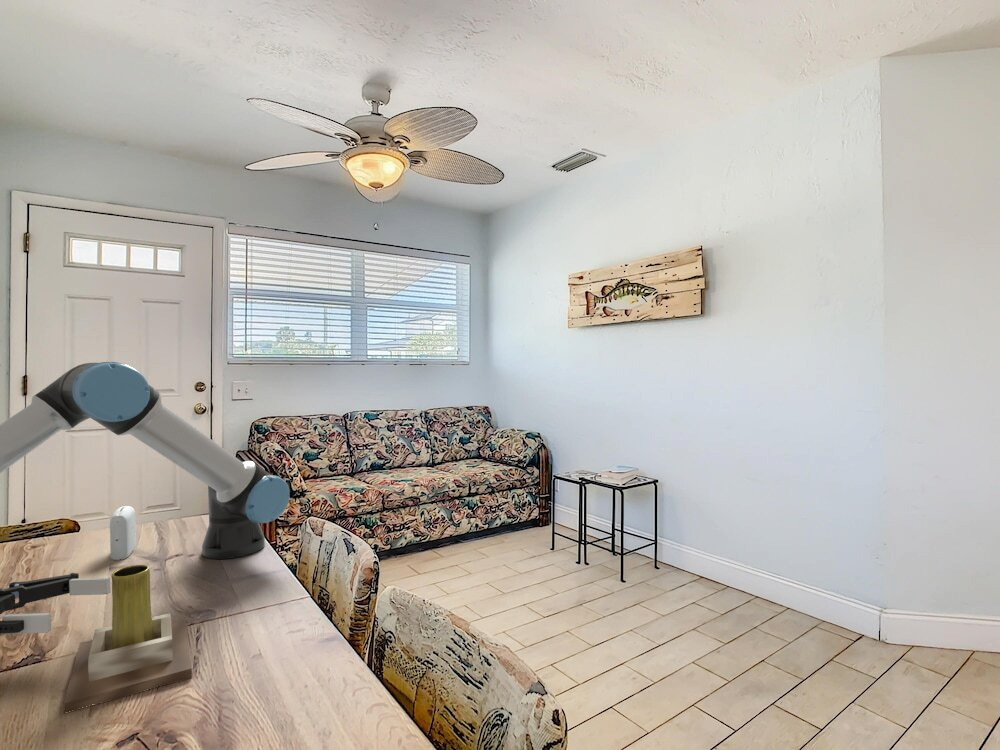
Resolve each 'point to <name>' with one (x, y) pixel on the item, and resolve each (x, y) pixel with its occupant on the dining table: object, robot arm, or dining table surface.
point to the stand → (128, 664)
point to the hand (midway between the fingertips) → (81, 603)
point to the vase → (131, 606)
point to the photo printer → (122, 533)
